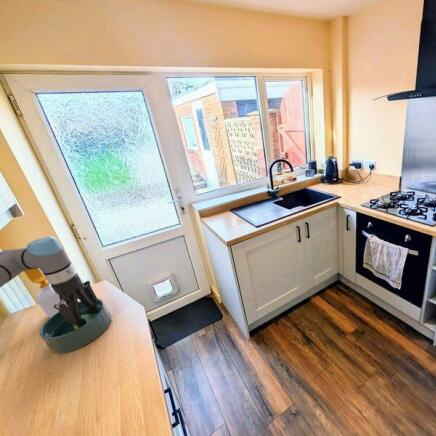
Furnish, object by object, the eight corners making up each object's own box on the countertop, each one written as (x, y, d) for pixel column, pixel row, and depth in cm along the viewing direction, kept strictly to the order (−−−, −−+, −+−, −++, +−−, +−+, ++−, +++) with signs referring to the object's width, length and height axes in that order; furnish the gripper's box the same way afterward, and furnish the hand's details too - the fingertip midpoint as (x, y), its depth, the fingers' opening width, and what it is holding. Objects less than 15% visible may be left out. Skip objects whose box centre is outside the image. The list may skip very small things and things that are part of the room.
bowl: (36, 356, 88) (23, 341, 85) (78, 314, 106) (69, 300, 102) (88, 352, 87) (78, 336, 84) (121, 310, 105) (114, 296, 102)
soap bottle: (56, 320, 104) (24, 273, 93) (43, 316, 107) (11, 270, 96) (79, 305, 111) (51, 260, 101) (66, 302, 114) (38, 258, 104)
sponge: (77, 331, 94) (72, 324, 92) (86, 322, 98) (81, 315, 96) (94, 330, 94) (90, 322, 92) (102, 320, 98) (98, 313, 96)
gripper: (52, 295, 78) (85, 345, 88) (92, 262, 94) (116, 308, 104) (29, 297, 78) (65, 346, 88) (73, 264, 94) (99, 309, 104)
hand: (92, 326), depth 96 cm, fingers closed on sponge, 4 cm apart
